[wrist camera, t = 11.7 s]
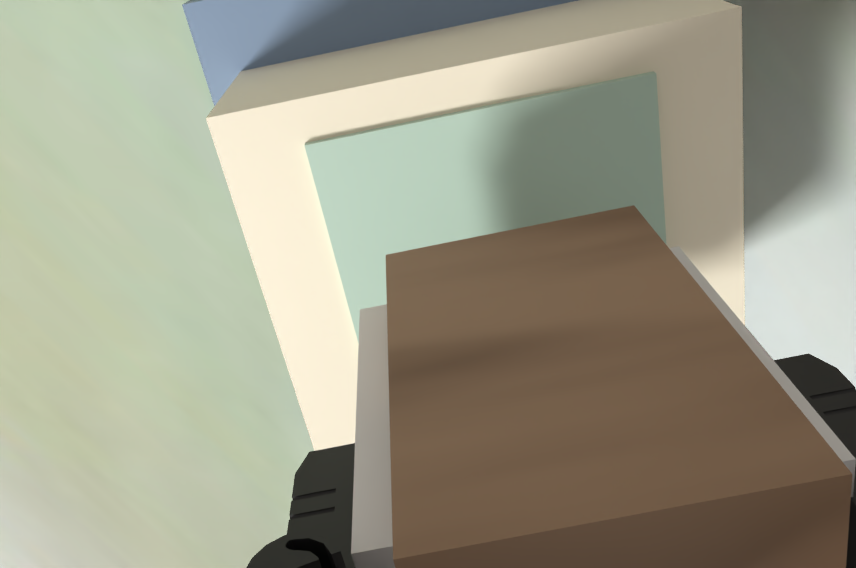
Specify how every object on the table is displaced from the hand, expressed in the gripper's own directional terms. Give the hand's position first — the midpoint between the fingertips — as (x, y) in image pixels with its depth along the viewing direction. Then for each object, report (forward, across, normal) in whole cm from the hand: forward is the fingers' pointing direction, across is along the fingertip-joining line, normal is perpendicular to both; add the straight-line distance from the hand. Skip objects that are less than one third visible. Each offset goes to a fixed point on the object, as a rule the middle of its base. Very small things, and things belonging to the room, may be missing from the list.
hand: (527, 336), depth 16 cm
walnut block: (0, 0, 0) cm, 0 cm away
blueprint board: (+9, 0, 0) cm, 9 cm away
